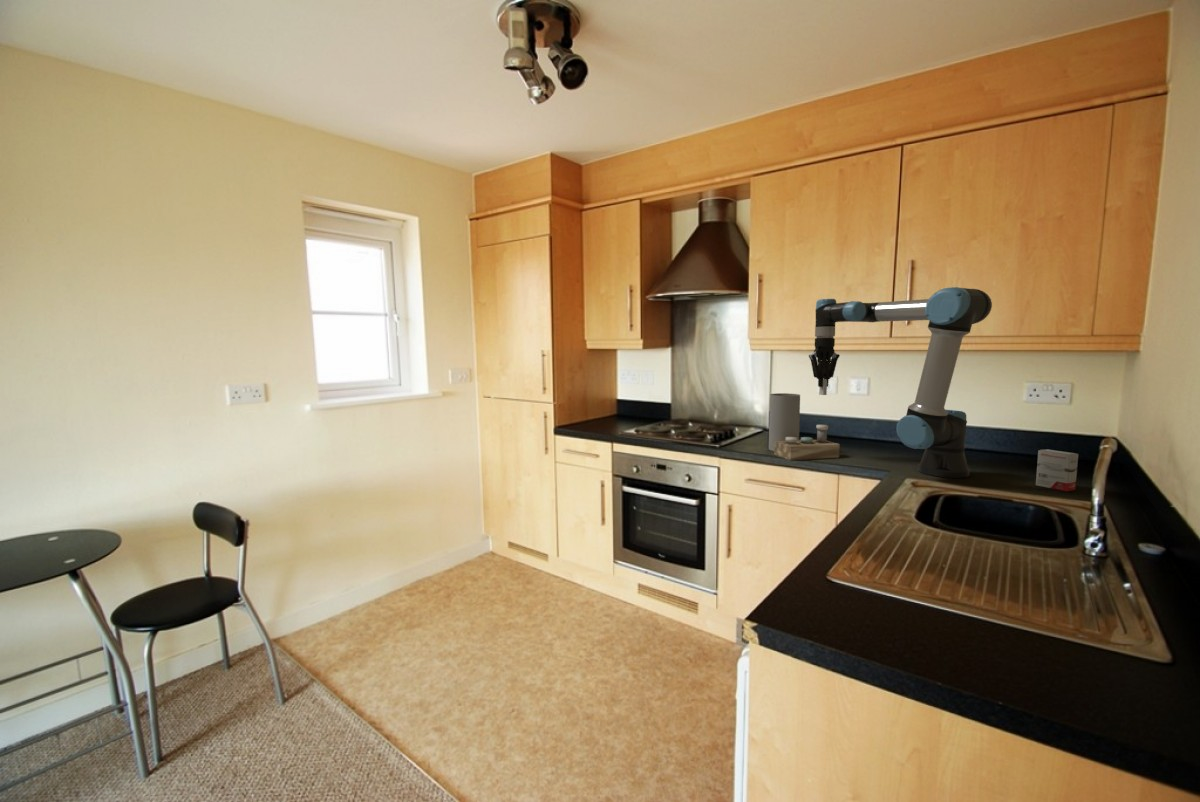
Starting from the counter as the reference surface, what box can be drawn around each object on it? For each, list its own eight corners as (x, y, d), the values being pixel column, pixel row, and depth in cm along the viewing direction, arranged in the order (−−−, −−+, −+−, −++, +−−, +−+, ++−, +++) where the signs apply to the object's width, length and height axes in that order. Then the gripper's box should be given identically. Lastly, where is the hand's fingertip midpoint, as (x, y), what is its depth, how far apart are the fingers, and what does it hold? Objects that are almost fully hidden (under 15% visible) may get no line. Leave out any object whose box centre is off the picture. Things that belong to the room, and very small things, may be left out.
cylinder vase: (763, 448, 230) (764, 393, 227) (789, 447, 231) (790, 393, 229) (777, 454, 217) (778, 396, 215) (804, 452, 219) (806, 395, 217)
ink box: (1076, 490, 159) (1079, 453, 158) (1067, 492, 157) (1070, 454, 156) (1043, 483, 167) (1046, 448, 165) (1034, 485, 165) (1037, 449, 164)
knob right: (830, 443, 210) (830, 426, 209) (820, 444, 209) (820, 426, 208) (823, 441, 215) (823, 424, 214) (813, 442, 214) (813, 424, 213)
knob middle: (814, 456, 209) (815, 438, 208) (804, 457, 208) (805, 439, 208) (807, 454, 214) (808, 436, 213) (798, 454, 213) (798, 437, 212)
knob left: (799, 456, 208) (799, 438, 207) (789, 457, 207) (789, 438, 206) (792, 454, 212) (793, 436, 212) (782, 454, 211) (783, 437, 211)
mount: (839, 458, 207) (839, 444, 207) (790, 461, 203) (790, 446, 203) (820, 452, 219) (821, 439, 218) (774, 455, 215) (774, 441, 214)
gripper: (833, 337, 212) (831, 393, 215) (805, 337, 210) (803, 394, 212) (845, 337, 205) (842, 395, 207) (816, 337, 202) (814, 396, 205)
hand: (822, 394), depth 210 cm, fingers closed
